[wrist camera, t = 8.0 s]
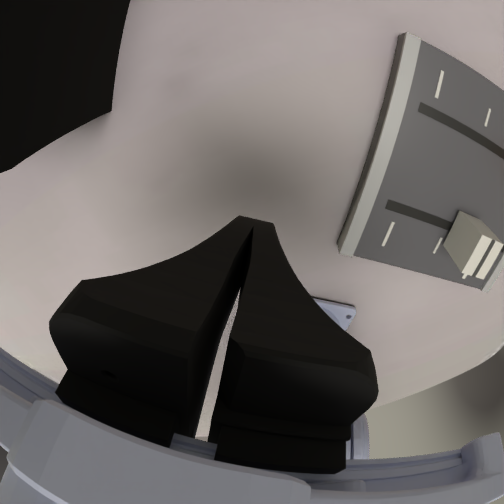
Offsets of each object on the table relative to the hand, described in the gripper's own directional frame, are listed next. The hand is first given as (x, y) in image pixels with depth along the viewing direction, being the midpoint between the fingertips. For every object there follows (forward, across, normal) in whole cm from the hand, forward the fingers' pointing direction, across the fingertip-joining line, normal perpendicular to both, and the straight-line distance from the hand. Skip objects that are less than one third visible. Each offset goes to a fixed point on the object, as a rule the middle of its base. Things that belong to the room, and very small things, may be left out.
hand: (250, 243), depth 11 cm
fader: (+8, -15, 0) cm, 17 cm away
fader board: (+10, -14, -4) cm, 18 cm away
